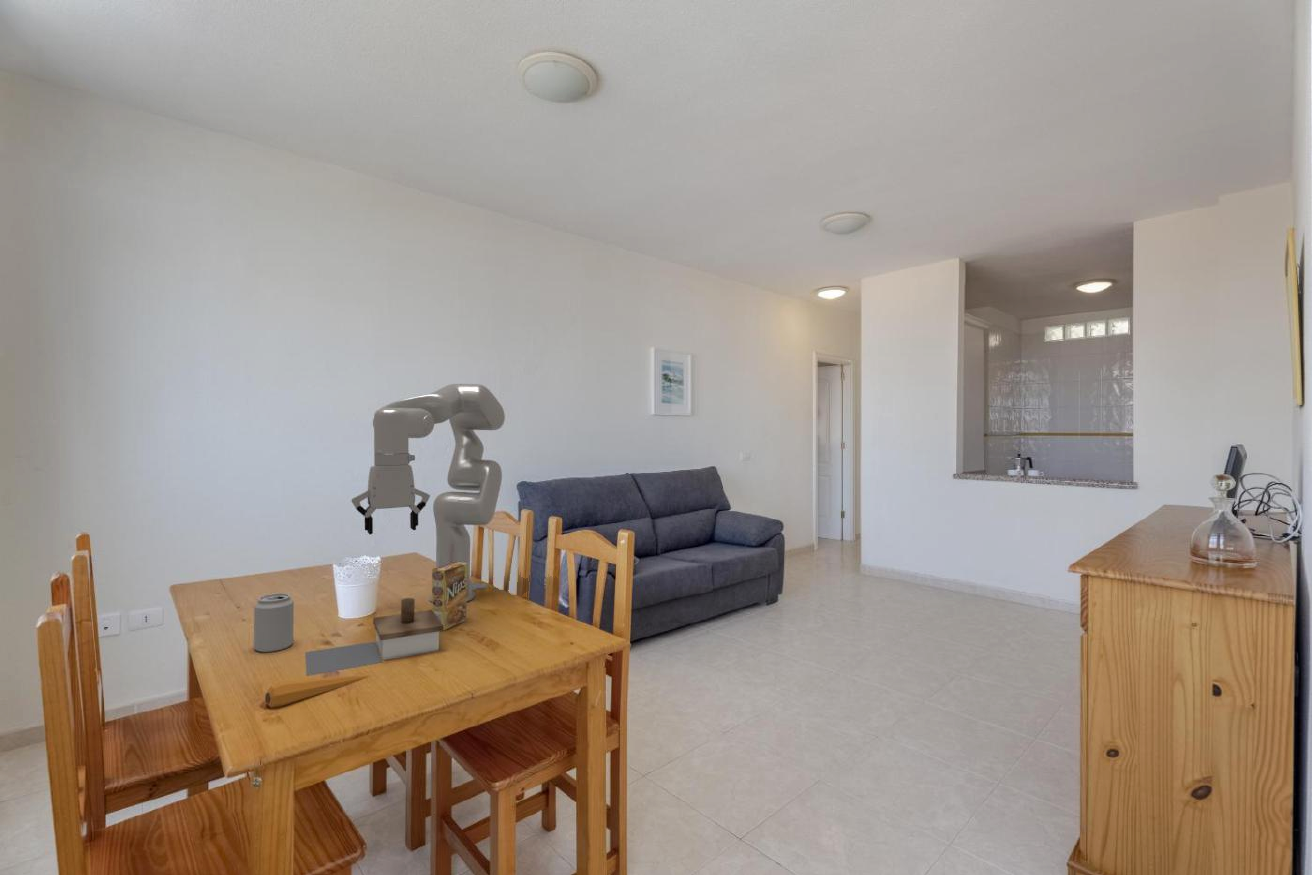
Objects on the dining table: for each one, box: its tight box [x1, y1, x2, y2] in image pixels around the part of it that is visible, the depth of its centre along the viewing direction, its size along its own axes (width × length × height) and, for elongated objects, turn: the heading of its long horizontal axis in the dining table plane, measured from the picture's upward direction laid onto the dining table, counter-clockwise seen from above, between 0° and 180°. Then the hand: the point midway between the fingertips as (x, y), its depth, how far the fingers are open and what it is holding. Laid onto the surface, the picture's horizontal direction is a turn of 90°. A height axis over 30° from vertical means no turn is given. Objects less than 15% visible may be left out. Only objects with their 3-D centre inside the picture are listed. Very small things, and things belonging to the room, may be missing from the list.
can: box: [253, 592, 295, 653], centre depth 134 cm, size 8×8×12 cm
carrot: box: [264, 674, 372, 709], centre depth 113 cm, size 20×4×4 cm, turn 141°
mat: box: [304, 640, 383, 677], centre depth 129 cm, size 14×14×1 cm
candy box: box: [431, 562, 468, 632], centre depth 152 cm, size 9×4×15 cm, turn 160°
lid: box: [372, 597, 444, 641], centre depth 135 cm, size 13×13×6 cm
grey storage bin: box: [375, 630, 440, 661], centre depth 135 cm, size 12×12×5 cm
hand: (392, 531), depth 142 cm, fingers open, 9 cm apart
